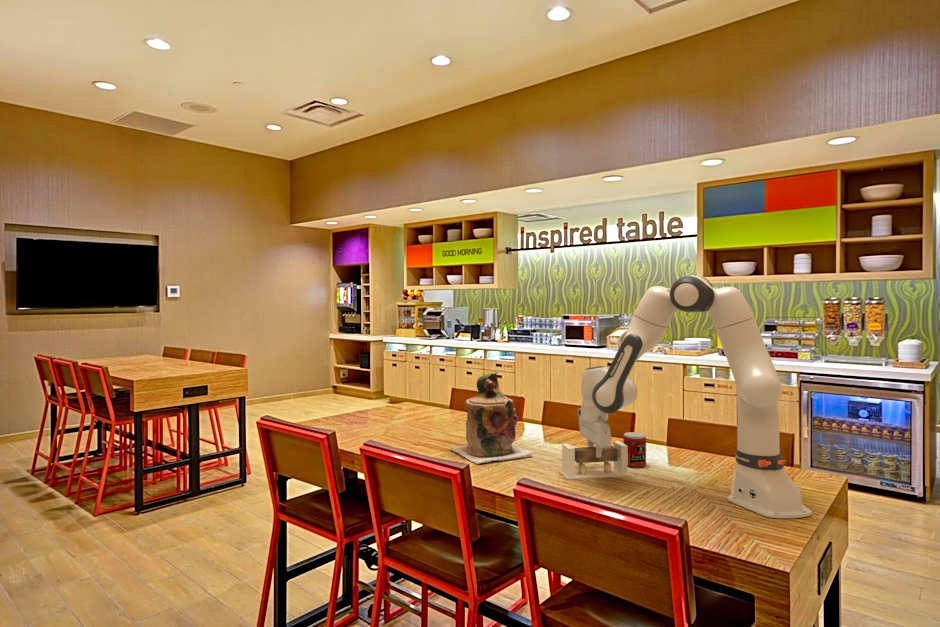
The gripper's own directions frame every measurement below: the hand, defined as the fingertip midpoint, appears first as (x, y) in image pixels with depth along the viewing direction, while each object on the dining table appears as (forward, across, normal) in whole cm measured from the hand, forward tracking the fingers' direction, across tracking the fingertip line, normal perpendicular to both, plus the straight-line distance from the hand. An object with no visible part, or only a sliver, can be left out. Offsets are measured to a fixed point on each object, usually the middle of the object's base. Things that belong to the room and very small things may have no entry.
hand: (594, 454), depth 198 cm
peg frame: (+7, 0, 0) cm, 7 cm away
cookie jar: (+7, +32, +30) cm, 44 cm away
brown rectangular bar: (+2, 0, 0) cm, 2 cm away
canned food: (+7, +8, -18) cm, 21 cm away
